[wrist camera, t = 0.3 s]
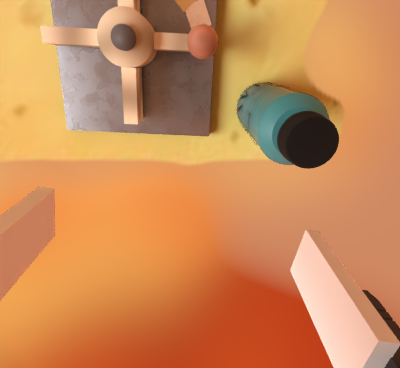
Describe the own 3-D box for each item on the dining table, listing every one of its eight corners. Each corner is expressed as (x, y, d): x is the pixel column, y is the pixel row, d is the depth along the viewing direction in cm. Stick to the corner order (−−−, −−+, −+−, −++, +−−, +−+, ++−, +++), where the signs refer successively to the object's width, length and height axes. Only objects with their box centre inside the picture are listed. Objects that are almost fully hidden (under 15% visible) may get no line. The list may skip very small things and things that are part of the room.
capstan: (46, -57, 30) (5, -91, 24) (220, -46, 31) (227, -77, 24) (68, 115, 37) (40, 125, 31) (210, 121, 38) (213, 133, 31)
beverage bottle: (267, 70, 37) (337, 74, 18) (290, 114, 39) (374, 156, 21) (224, 99, 38) (250, 129, 20) (249, 140, 40) (292, 201, 22)
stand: (47, -73, 31) (38, -81, 30) (220, -63, 32) (221, -70, 30) (71, 127, 40) (66, 130, 38) (208, 133, 40) (208, 136, 38)
